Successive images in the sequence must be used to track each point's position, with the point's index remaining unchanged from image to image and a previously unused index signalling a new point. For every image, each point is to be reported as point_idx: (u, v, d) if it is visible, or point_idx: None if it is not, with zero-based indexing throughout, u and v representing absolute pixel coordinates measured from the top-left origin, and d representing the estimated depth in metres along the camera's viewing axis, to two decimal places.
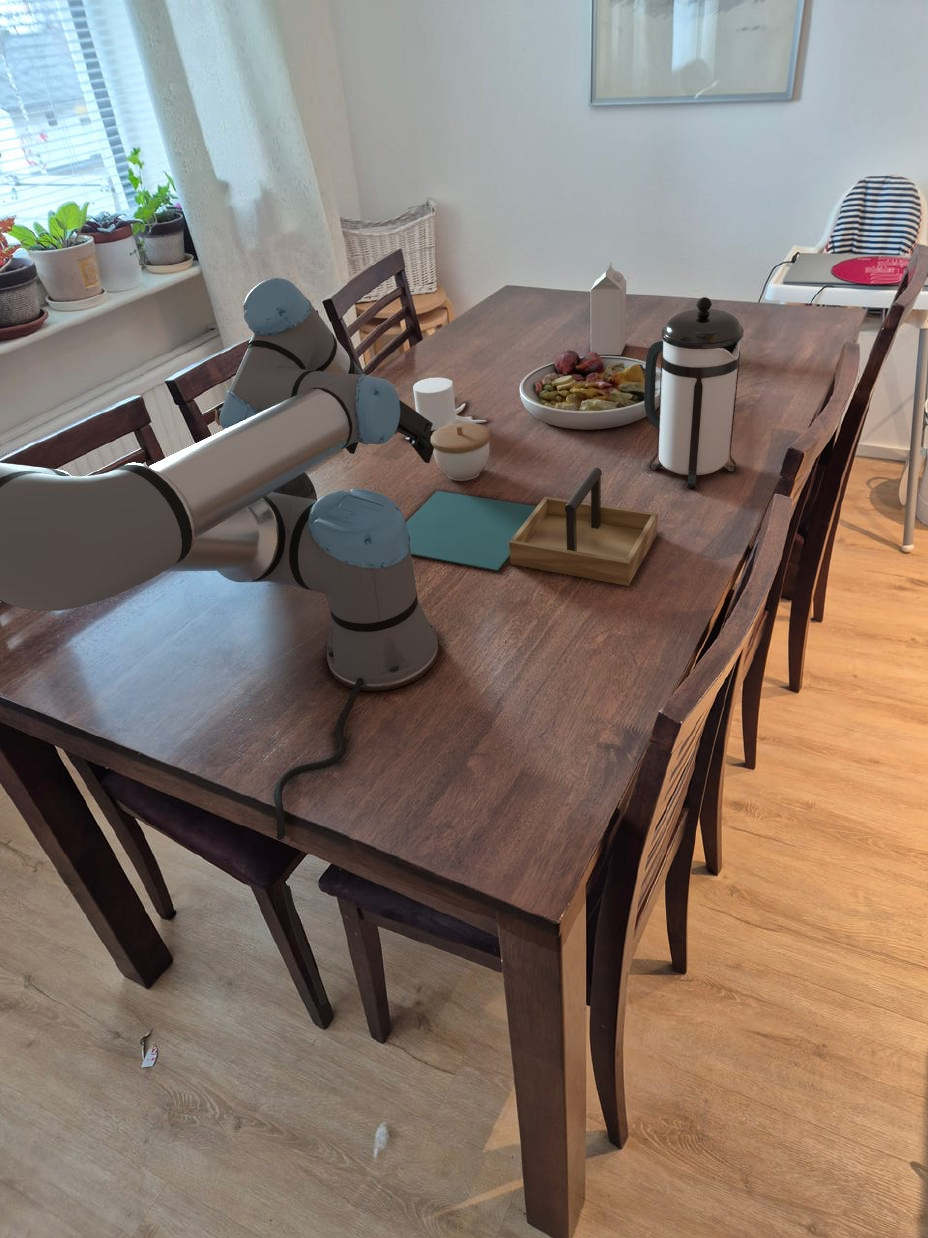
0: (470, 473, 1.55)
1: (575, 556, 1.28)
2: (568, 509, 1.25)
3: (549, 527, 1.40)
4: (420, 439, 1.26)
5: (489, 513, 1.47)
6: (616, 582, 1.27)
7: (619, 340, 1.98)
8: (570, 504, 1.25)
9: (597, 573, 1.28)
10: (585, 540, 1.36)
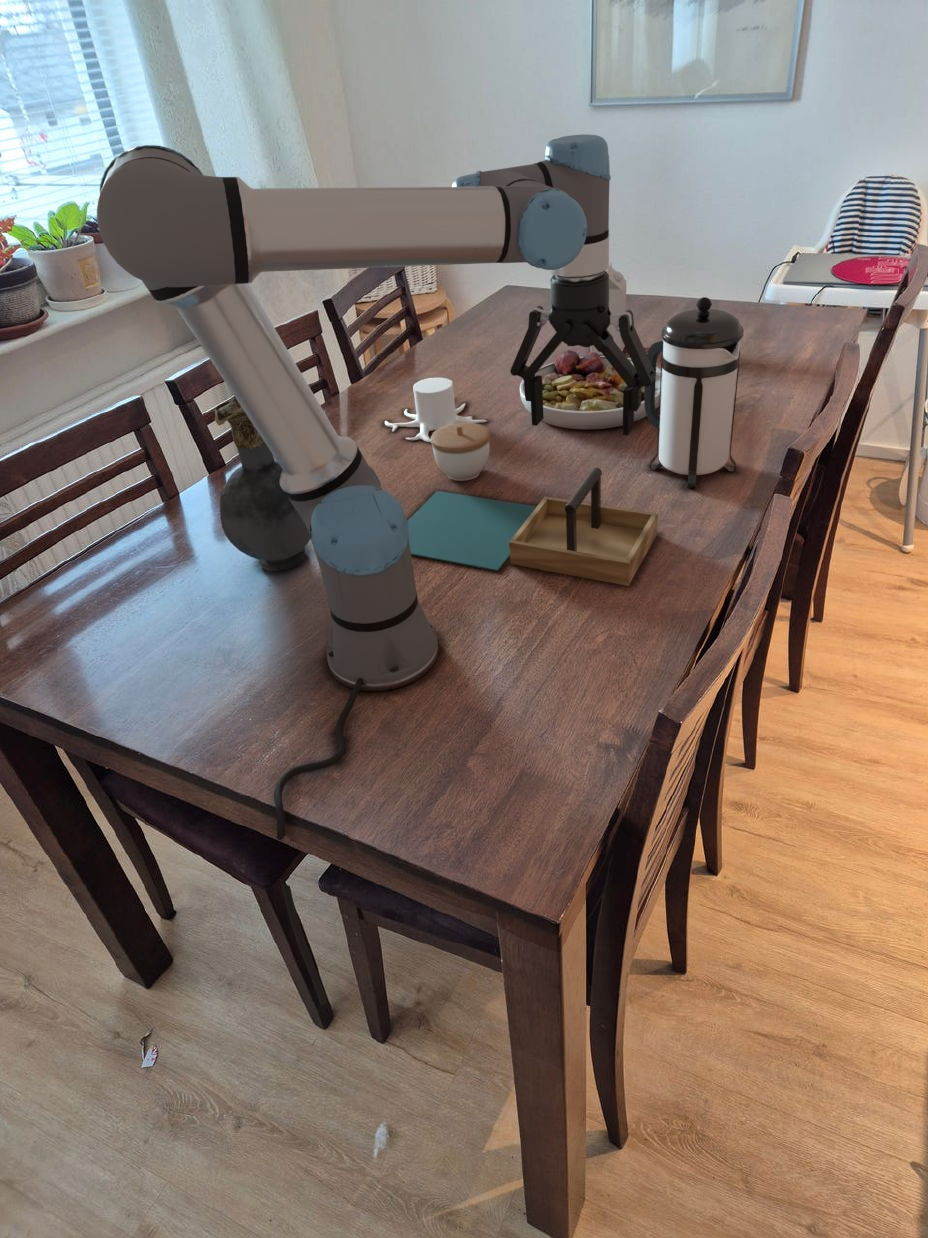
0: (470, 473, 1.55)
1: (575, 556, 1.28)
2: (568, 509, 1.25)
3: (549, 527, 1.40)
4: (636, 391, 1.16)
5: (489, 513, 1.47)
6: (616, 582, 1.27)
7: (619, 340, 1.98)
8: (570, 504, 1.25)
9: (597, 573, 1.28)
10: (585, 540, 1.36)
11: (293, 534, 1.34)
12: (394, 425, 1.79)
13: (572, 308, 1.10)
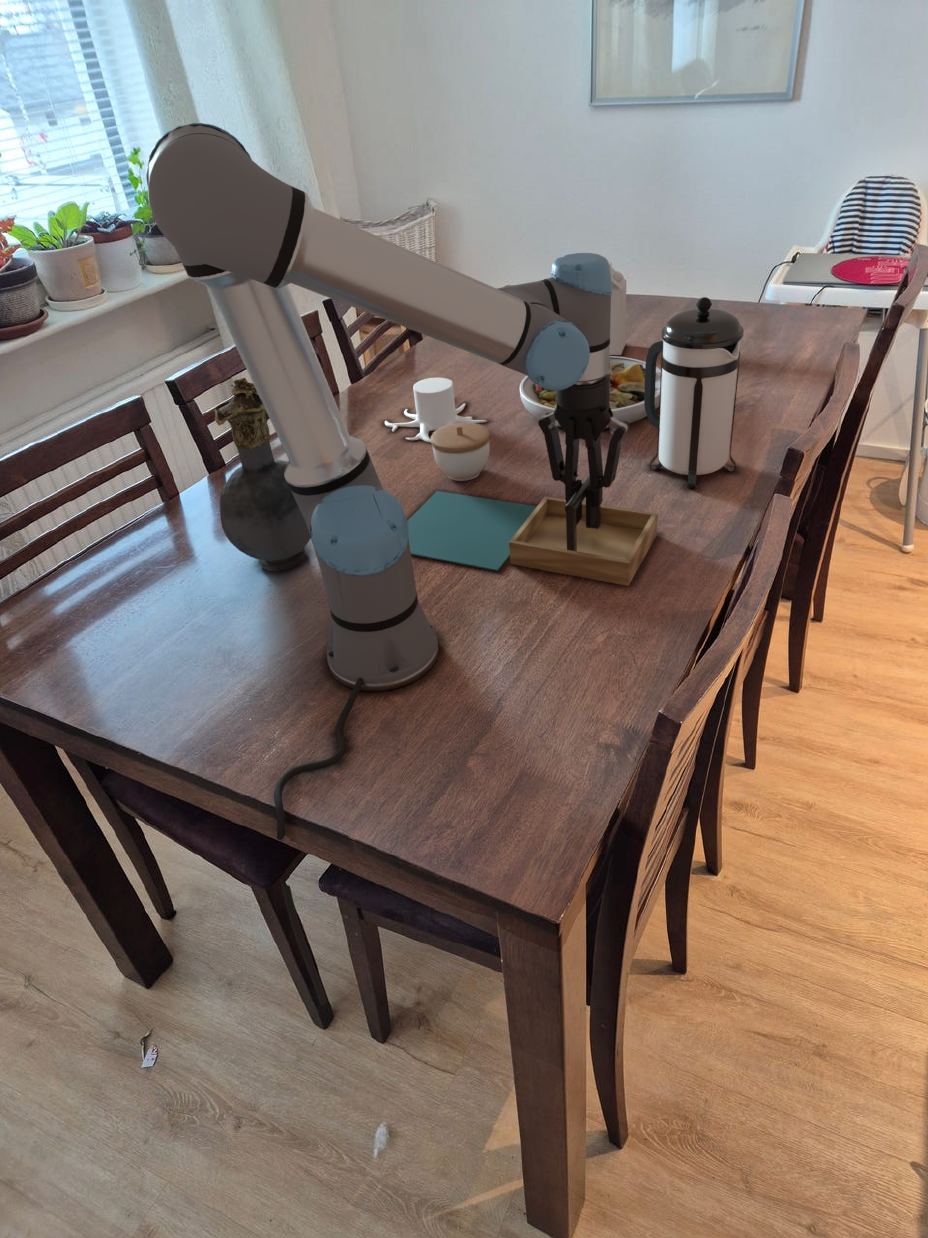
0: (470, 473, 1.55)
1: (575, 556, 1.28)
2: (568, 509, 1.25)
3: (549, 527, 1.40)
4: (597, 491, 1.28)
5: (489, 513, 1.47)
6: (616, 582, 1.27)
7: (619, 340, 1.98)
8: (570, 504, 1.25)
9: (597, 573, 1.28)
10: (585, 540, 1.36)
11: (293, 534, 1.34)
12: (394, 425, 1.79)
13: (575, 408, 1.18)
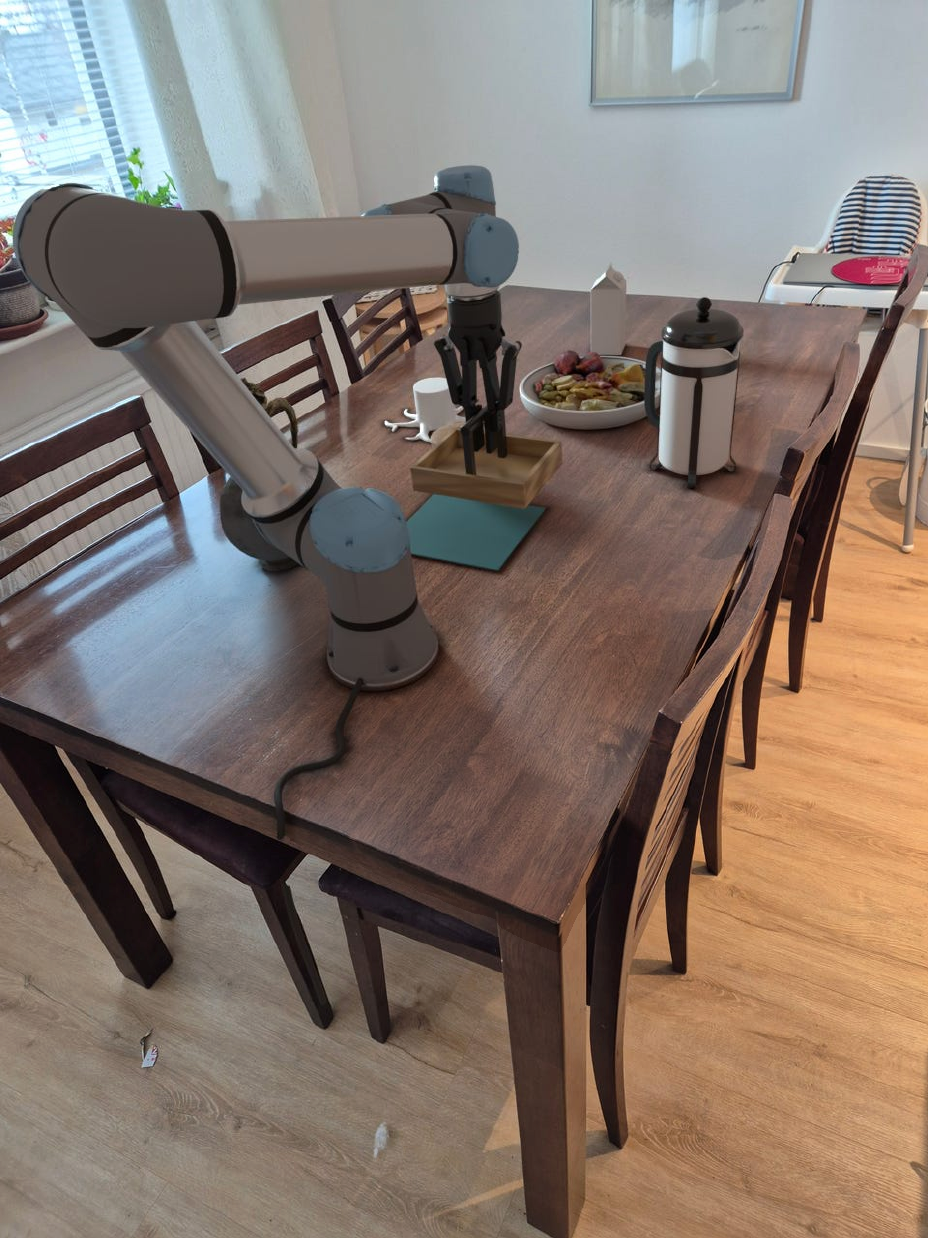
0: None
1: (472, 479, 1.28)
2: (463, 431, 1.25)
3: (457, 457, 1.40)
4: (495, 414, 1.28)
5: (489, 513, 1.47)
6: (512, 505, 1.27)
7: (619, 340, 1.98)
8: (466, 425, 1.25)
9: (494, 496, 1.28)
10: (489, 468, 1.36)
11: None
12: (394, 425, 1.79)
13: (465, 325, 1.18)
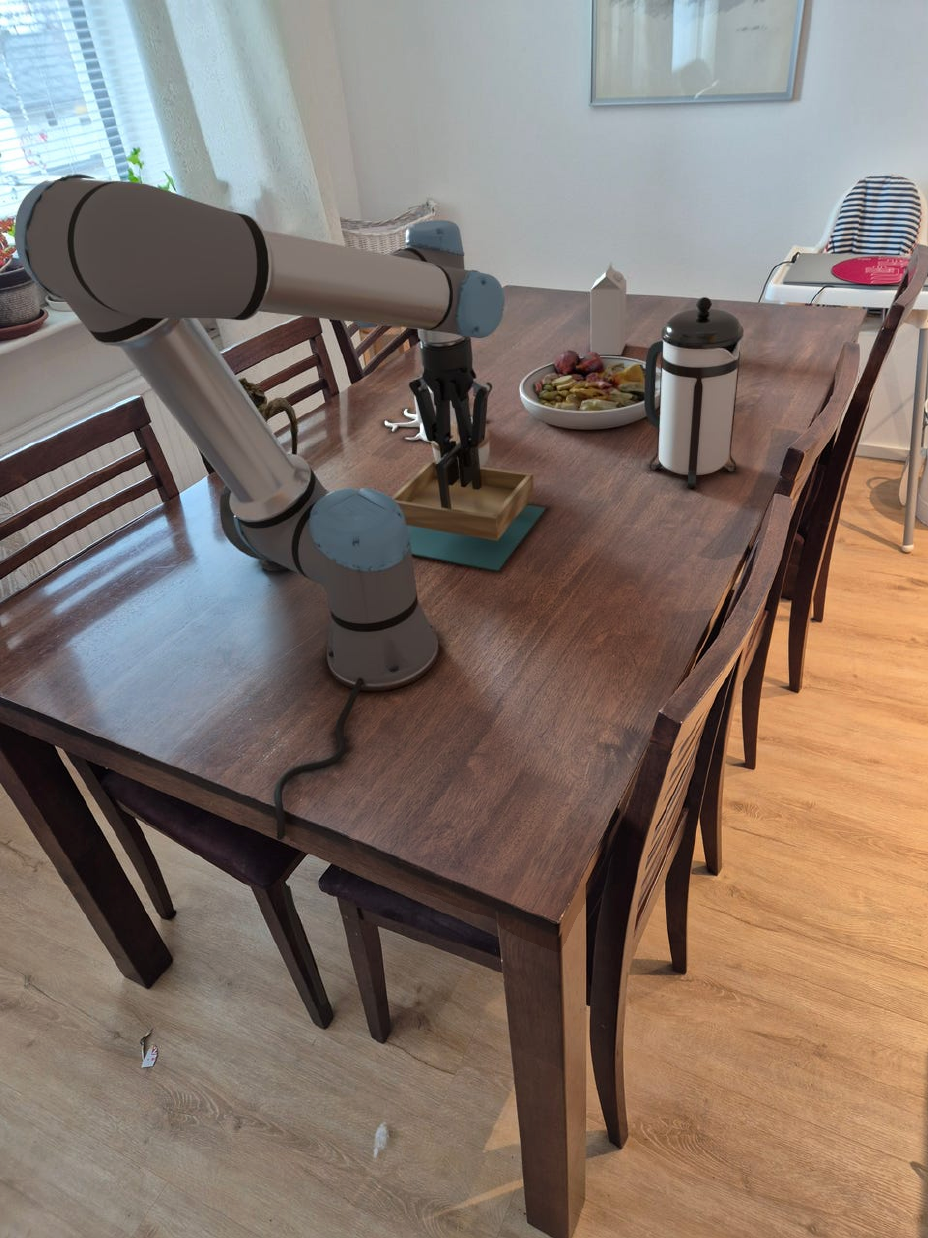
0: None
1: (447, 513, 1.34)
2: (438, 467, 1.31)
3: (433, 489, 1.46)
4: (468, 451, 1.34)
5: None
6: (486, 537, 1.33)
7: (619, 340, 1.98)
8: (440, 462, 1.31)
9: (468, 529, 1.34)
10: (464, 500, 1.42)
11: None
12: (394, 425, 1.79)
13: (437, 369, 1.24)
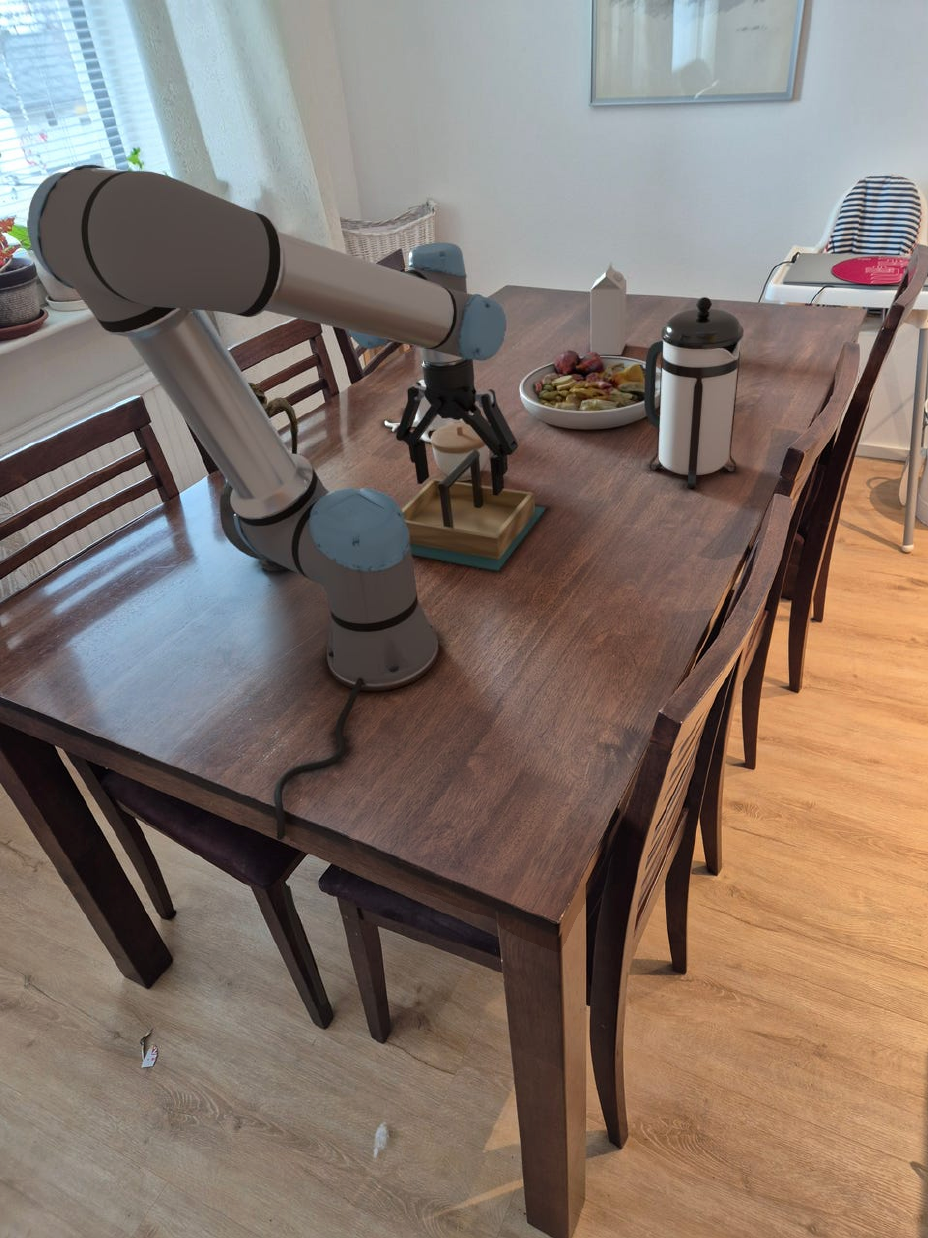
0: (470, 473, 1.55)
1: (450, 532, 1.36)
2: (441, 487, 1.33)
3: (435, 507, 1.48)
4: (501, 459, 1.32)
5: None
6: (487, 556, 1.35)
7: (619, 340, 1.98)
8: (443, 482, 1.33)
9: (470, 548, 1.36)
10: (466, 518, 1.44)
11: None
12: (394, 425, 1.79)
13: (439, 388, 1.26)
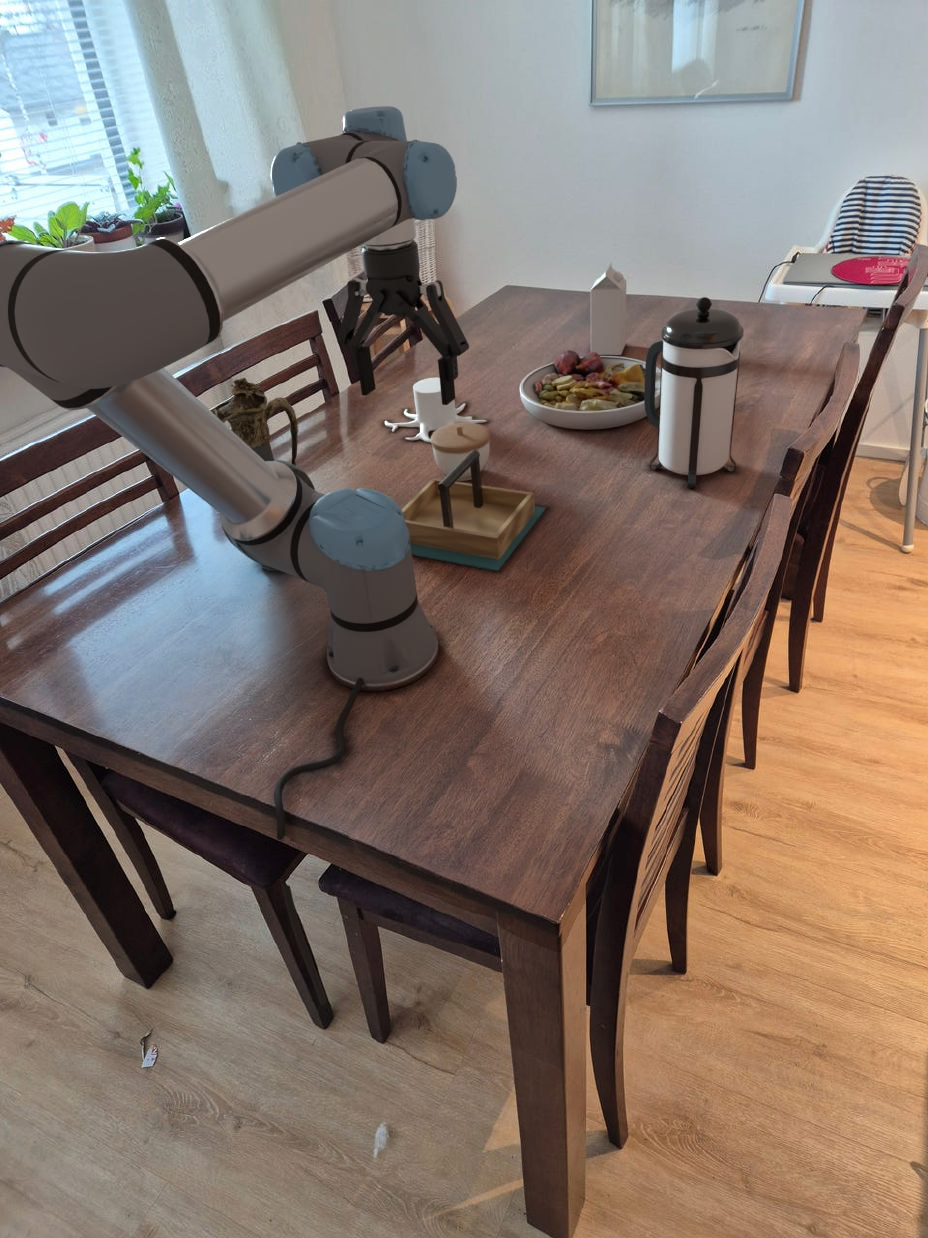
0: (470, 473, 1.55)
1: (450, 532, 1.36)
2: (441, 487, 1.33)
3: (435, 507, 1.48)
4: (450, 361, 1.19)
5: None
6: (487, 556, 1.35)
7: (619, 340, 1.98)
8: (443, 482, 1.33)
9: (470, 548, 1.36)
10: (466, 518, 1.44)
11: None
12: (394, 425, 1.79)
13: (379, 276, 1.13)
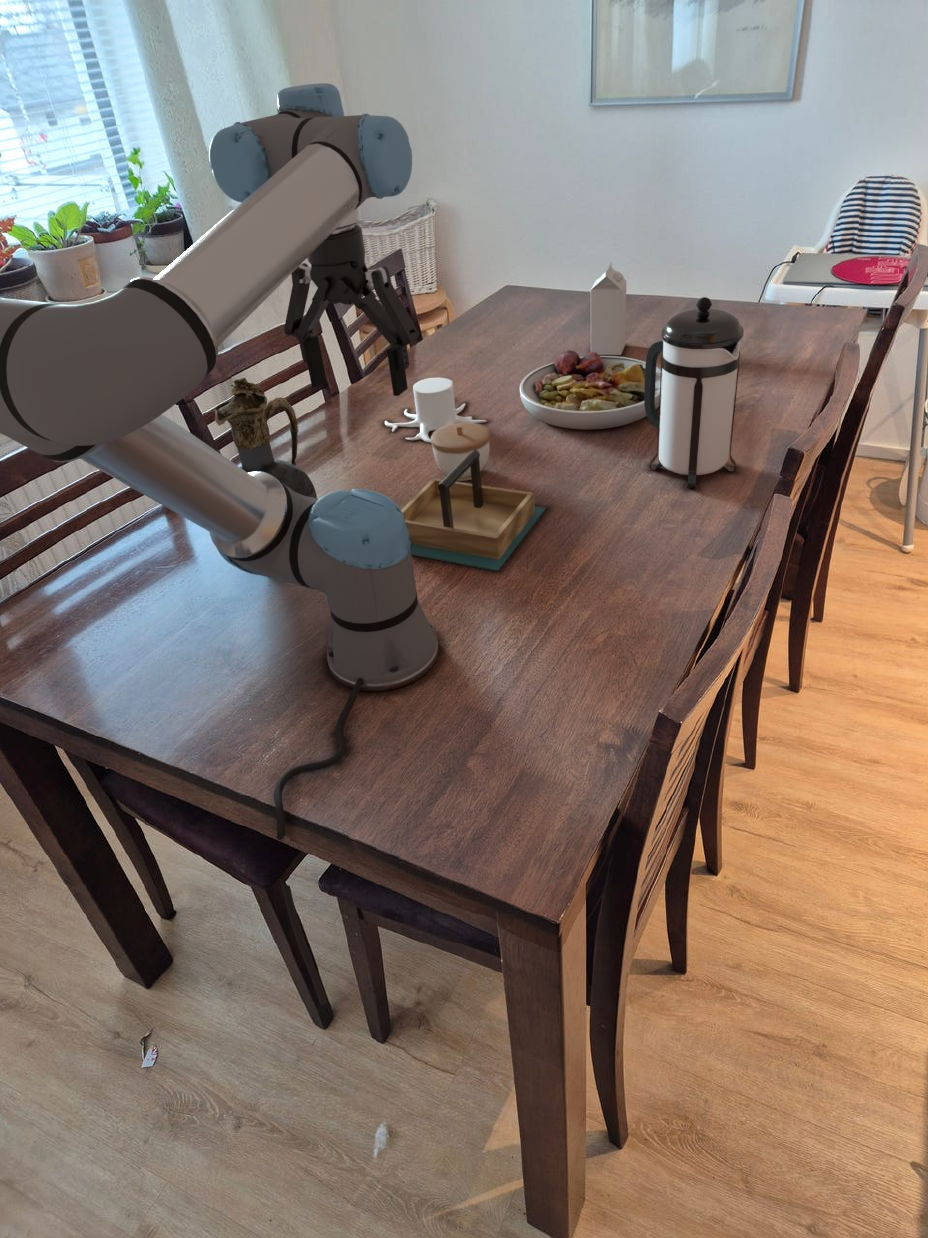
0: (470, 473, 1.55)
1: (450, 532, 1.36)
2: (441, 487, 1.33)
3: (435, 507, 1.48)
4: (400, 350, 1.14)
5: None
6: (487, 556, 1.35)
7: (619, 340, 1.98)
8: (443, 482, 1.33)
9: (470, 548, 1.36)
10: (466, 518, 1.44)
11: None
12: (394, 425, 1.79)
13: (322, 263, 1.08)
